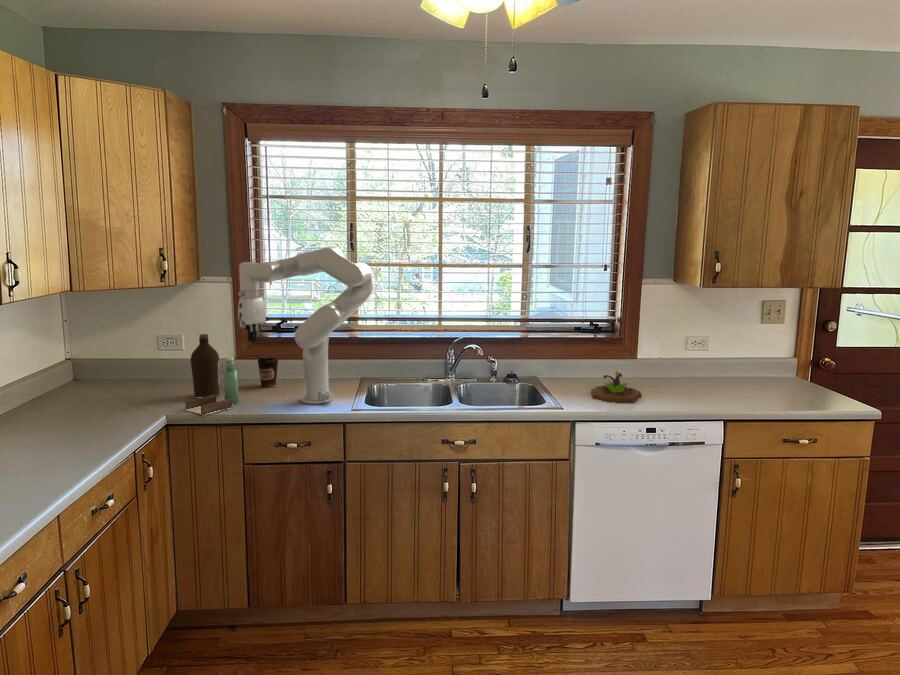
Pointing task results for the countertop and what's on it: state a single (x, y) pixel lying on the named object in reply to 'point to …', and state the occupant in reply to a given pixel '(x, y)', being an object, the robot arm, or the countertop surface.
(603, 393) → the plant
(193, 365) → the olive oil
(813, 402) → the countertop surface
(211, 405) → the cradle
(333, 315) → the robot arm
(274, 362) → the coffee cup
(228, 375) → the bottle
